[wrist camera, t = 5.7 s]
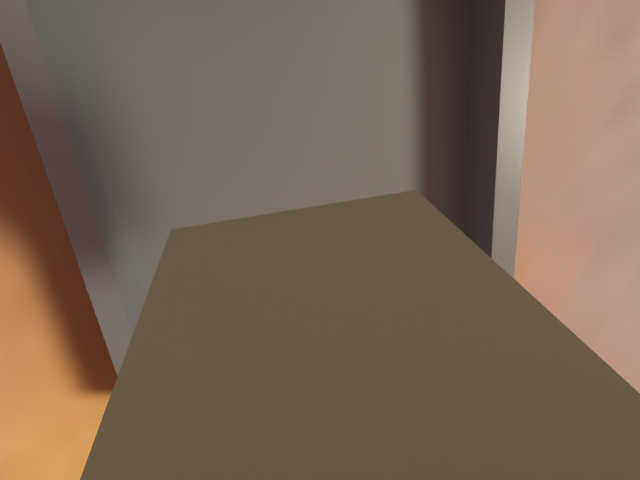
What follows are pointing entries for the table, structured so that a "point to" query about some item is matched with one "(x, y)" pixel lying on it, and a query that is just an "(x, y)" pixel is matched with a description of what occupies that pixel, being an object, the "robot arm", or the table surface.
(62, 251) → the table surface
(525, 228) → the table surface
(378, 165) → the bin
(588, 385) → the green block
